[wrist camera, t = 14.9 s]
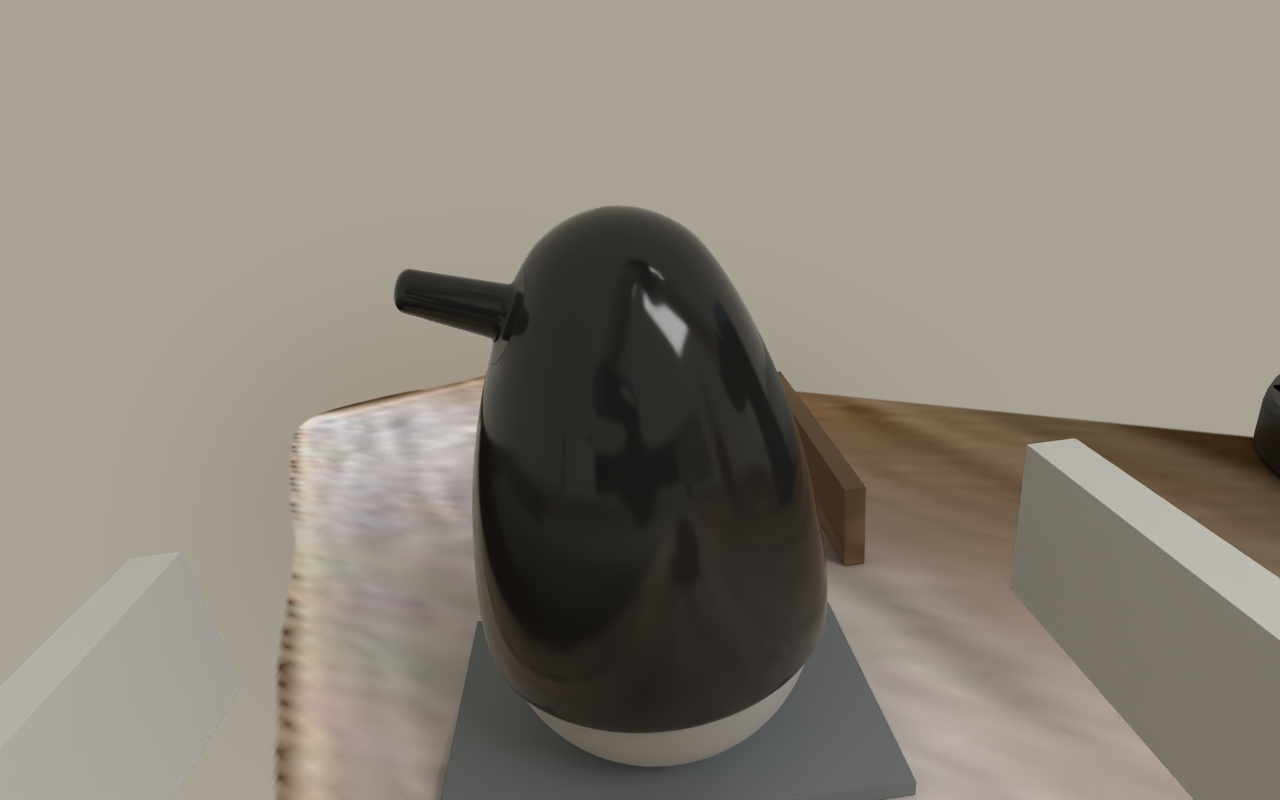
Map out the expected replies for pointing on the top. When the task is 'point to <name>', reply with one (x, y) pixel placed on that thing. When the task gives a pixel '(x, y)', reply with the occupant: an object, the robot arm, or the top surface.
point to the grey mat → (698, 791)
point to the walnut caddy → (831, 484)
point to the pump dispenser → (635, 491)
